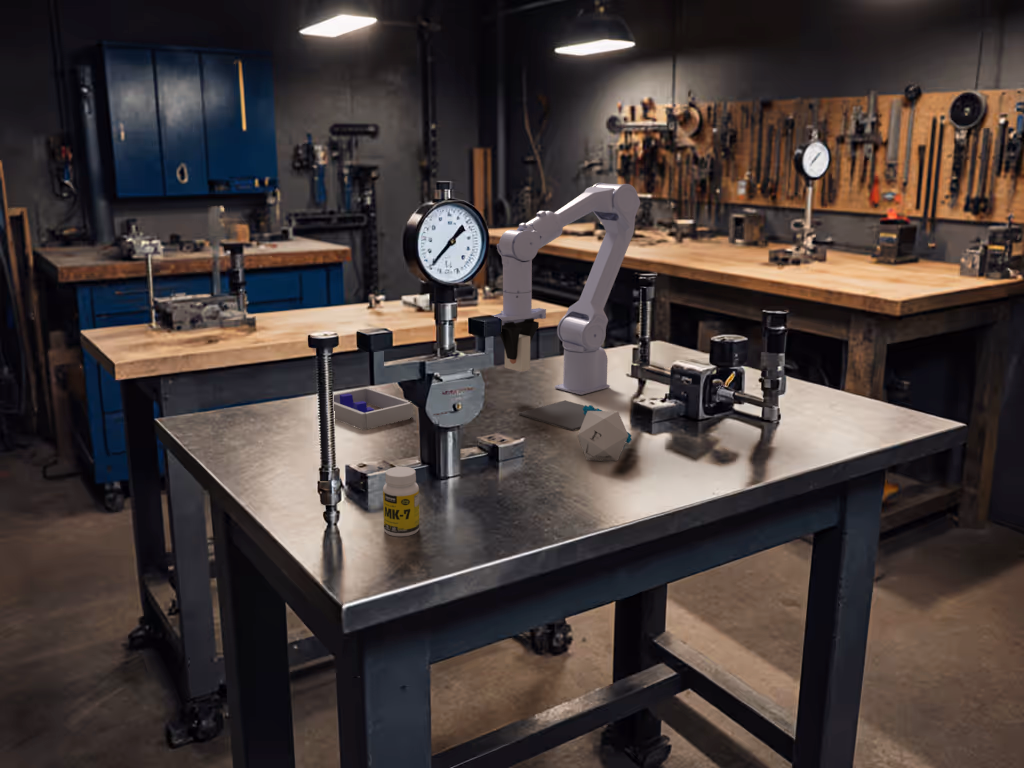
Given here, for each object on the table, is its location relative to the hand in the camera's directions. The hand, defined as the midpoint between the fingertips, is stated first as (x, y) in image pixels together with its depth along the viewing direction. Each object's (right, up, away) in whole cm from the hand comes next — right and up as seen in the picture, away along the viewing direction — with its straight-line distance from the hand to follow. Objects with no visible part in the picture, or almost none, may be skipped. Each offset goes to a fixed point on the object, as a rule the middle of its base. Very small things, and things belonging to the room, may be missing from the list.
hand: (517, 357), depth 178 cm
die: (+14, -18, -32) cm, 39 cm away
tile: (0, -2, +1) cm, 2 cm away
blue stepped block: (-31, -12, -10) cm, 34 cm away
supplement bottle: (-16, -25, -60) cm, 67 cm away
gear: (+15, -16, -25) cm, 33 cm away
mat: (+10, -12, -9) cm, 17 cm away
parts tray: (-29, -11, -9) cm, 33 cm away
